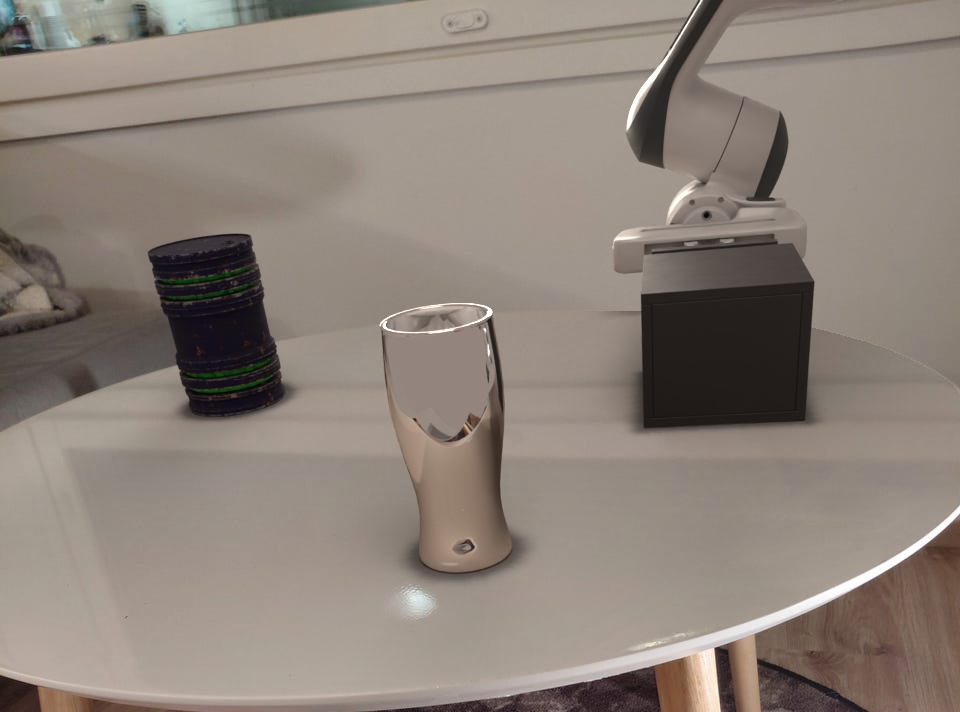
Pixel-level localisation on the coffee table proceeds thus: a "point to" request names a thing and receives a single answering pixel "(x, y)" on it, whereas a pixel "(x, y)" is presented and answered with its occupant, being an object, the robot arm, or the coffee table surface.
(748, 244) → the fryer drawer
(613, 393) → the coffee table surface
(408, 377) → the beer glass
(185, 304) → the storage jar
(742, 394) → the cabinet
